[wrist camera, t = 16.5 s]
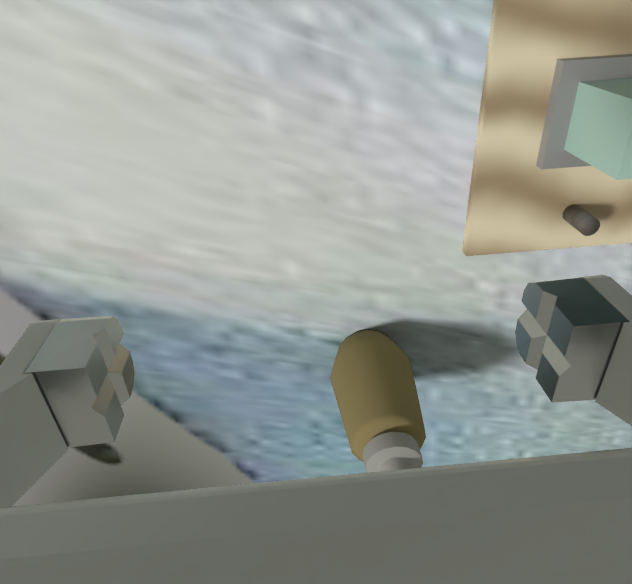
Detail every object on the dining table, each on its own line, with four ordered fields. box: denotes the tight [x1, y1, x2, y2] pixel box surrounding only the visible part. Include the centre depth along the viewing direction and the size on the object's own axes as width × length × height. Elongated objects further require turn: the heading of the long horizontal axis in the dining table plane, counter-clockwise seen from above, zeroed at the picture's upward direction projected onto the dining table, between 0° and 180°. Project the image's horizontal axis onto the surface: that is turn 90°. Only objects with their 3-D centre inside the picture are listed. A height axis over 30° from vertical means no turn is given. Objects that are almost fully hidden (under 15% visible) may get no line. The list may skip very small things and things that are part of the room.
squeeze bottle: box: [330, 330, 426, 473], centre depth 43 cm, size 8×8×18 cm
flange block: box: [536, 54, 632, 180], centre depth 35 cm, size 8×8×8 cm
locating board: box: [462, 0, 632, 256], centre depth 37 cm, size 24×18×4 cm
